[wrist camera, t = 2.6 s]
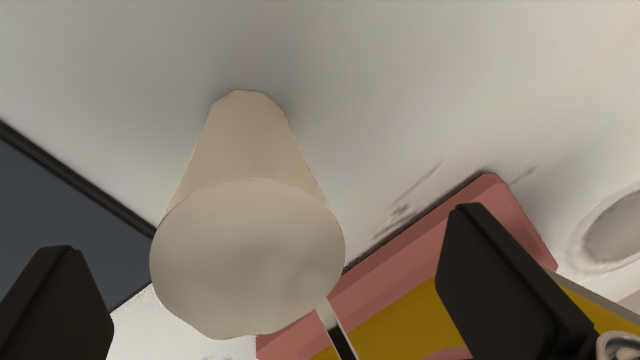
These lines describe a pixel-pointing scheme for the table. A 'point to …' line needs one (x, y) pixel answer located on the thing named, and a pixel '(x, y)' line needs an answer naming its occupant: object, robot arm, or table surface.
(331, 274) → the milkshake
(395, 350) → the clock
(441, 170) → the table surface
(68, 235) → the mouse pad
